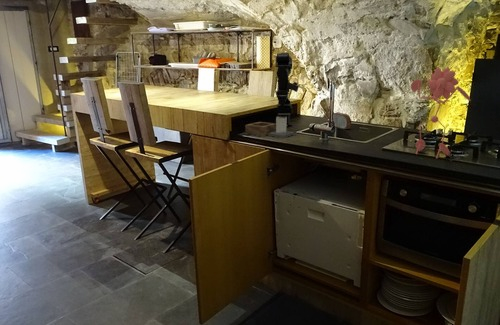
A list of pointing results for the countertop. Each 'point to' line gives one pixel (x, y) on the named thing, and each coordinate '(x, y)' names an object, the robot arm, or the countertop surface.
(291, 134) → the rubber pad
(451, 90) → the figurine
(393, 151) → the countertop surface
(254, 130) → the brown square tray
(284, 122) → the steel peg
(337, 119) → the tin
